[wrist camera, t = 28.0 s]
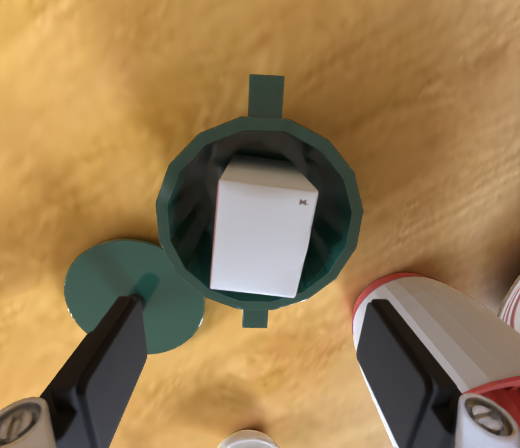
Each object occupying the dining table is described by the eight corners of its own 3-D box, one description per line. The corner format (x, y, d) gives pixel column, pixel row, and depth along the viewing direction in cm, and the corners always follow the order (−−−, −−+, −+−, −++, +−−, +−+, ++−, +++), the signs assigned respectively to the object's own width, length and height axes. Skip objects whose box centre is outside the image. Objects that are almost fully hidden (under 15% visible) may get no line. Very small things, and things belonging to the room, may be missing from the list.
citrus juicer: (434, 360, 40) (595, 571, 21) (322, 343, 38) (389, 557, 19) (486, 270, 34) (765, 446, 16) (359, 246, 33) (500, 412, 14)
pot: (190, 276, 34) (167, 331, 25) (180, 85, 26) (141, 65, 17) (317, 280, 34) (339, 335, 25) (343, 94, 27) (389, 79, 18)
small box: (233, 152, 28) (217, 176, 16) (292, 160, 28) (322, 189, 16) (226, 224, 31) (208, 291, 19) (280, 230, 31) (297, 300, 19)
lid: (84, 346, 37) (52, 388, 31) (56, 233, 31) (11, 258, 25) (207, 348, 38) (199, 389, 32) (204, 238, 32) (193, 264, 26)
